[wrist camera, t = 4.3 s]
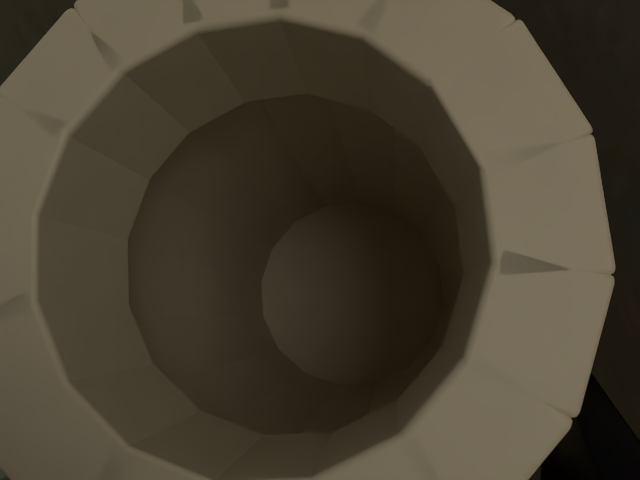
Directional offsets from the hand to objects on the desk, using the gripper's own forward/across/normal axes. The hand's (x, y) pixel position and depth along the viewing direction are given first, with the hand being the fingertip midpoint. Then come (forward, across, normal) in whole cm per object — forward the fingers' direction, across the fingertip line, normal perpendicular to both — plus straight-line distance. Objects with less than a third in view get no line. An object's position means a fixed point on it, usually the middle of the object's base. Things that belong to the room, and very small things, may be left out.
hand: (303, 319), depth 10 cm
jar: (+7, 0, +5) cm, 9 cm away
